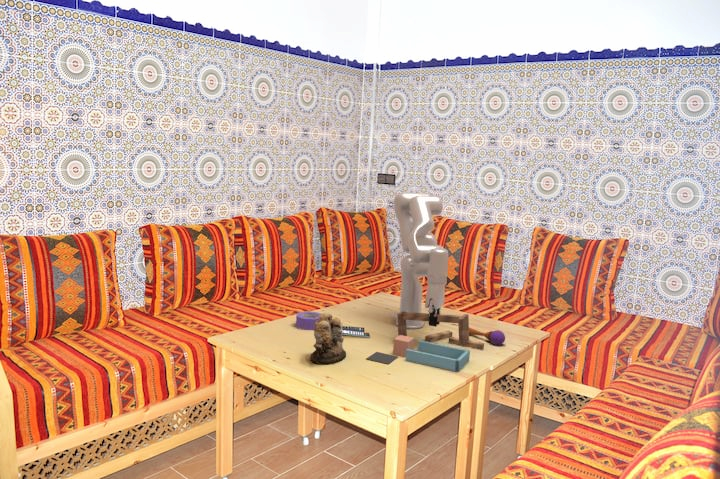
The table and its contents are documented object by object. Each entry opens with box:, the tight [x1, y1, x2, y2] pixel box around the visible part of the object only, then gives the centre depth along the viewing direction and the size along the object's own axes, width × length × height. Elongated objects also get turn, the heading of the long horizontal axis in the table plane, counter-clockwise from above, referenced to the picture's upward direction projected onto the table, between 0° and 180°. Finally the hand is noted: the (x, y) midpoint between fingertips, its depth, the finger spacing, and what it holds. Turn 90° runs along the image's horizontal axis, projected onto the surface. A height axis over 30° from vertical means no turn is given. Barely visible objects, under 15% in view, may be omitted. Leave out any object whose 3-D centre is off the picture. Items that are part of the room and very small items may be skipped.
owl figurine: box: [309, 312, 347, 366], centre depth 210 cm, size 18×12×17 cm, turn 157°
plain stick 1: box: [424, 330, 453, 343], centre depth 240 cm, size 14×2×2 cm, turn 130°
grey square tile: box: [365, 351, 399, 365], centre depth 214 cm, size 9×9×1 cm
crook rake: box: [397, 311, 470, 347], centre depth 230 cm, size 28×8×10 cm, turn 63°
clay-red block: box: [392, 335, 415, 358], centre depth 220 cm, size 6×6×6 cm
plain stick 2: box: [448, 336, 485, 351], centre depth 233 cm, size 14×2×2 cm, turn 63°
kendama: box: [469, 327, 506, 346], centre depth 242 cm, size 6×6×20 cm
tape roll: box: [295, 311, 322, 331], centre depth 249 cm, size 12×12×5 cm
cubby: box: [405, 339, 471, 373], centre depth 214 cm, size 20×13×4 cm, turn 63°
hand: (434, 324), depth 230 cm, fingers closed on crook rake, 2 cm apart
